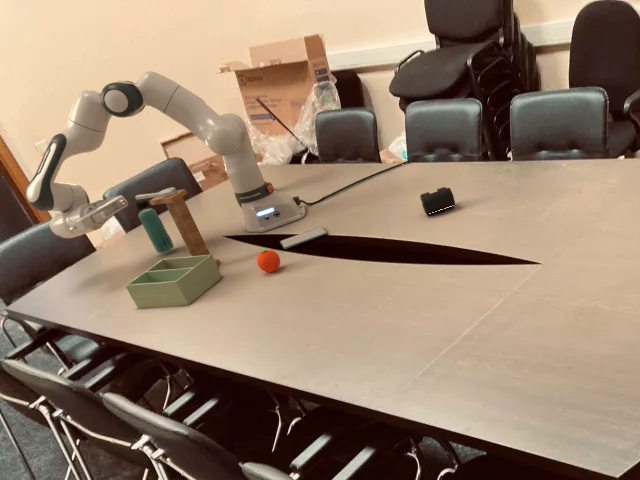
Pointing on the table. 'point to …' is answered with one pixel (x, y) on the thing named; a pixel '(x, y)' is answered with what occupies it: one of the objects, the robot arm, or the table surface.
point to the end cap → (437, 200)
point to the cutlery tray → (174, 281)
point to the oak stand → (184, 223)
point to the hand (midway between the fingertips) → (116, 208)
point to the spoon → (159, 194)
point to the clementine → (268, 260)
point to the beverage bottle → (154, 228)
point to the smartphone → (303, 237)
